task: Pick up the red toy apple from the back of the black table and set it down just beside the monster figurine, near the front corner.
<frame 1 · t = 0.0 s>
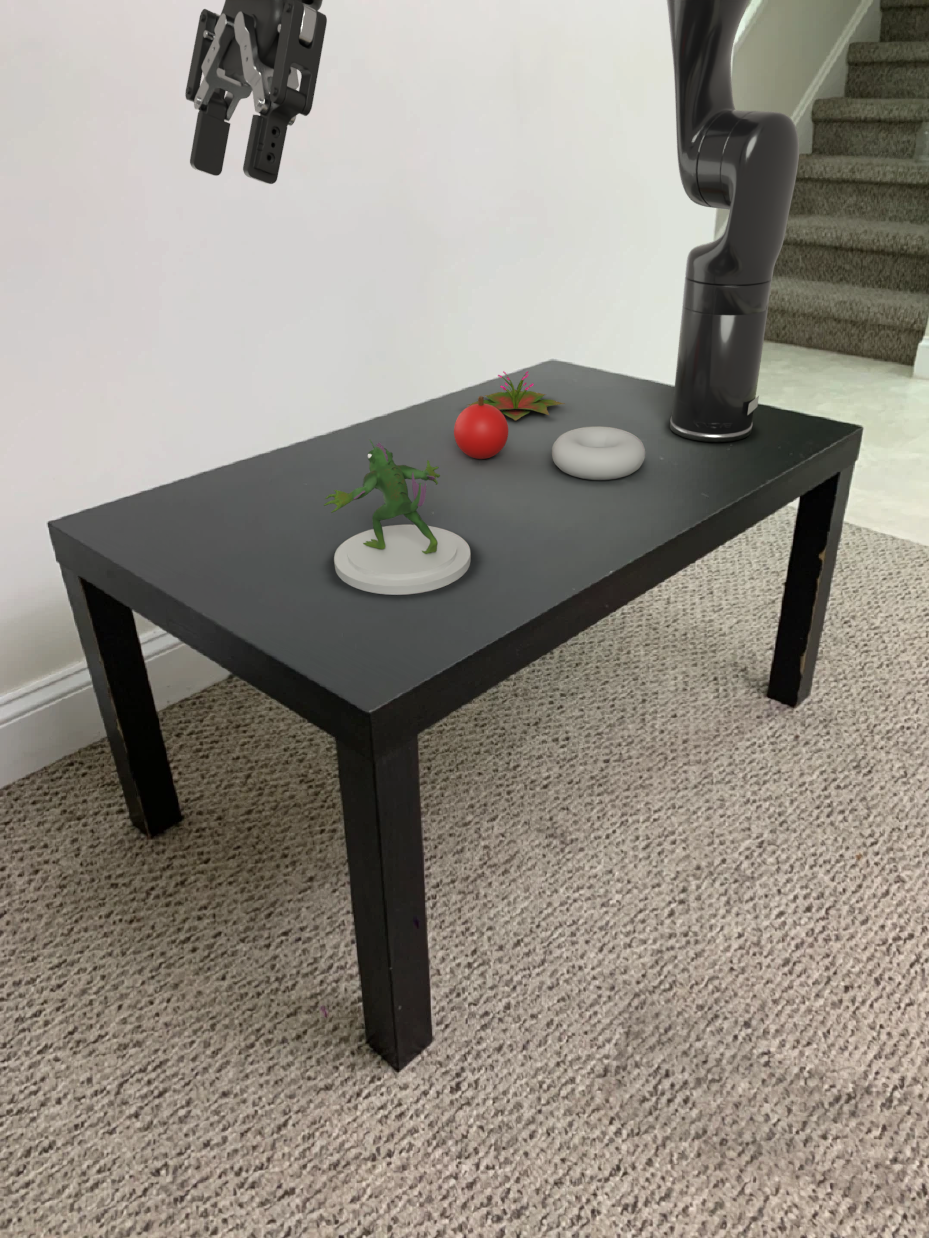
hand: (230, 176, 66), 31 cm above the table, tool tilted 20°, fingers open, 8 cm apart
lily flower: (515, 411, 119), on the table
monster figurine: (403, 563, 83), on the table
apple: (481, 457, 105), on the table
donut: (597, 469, 102), on the table
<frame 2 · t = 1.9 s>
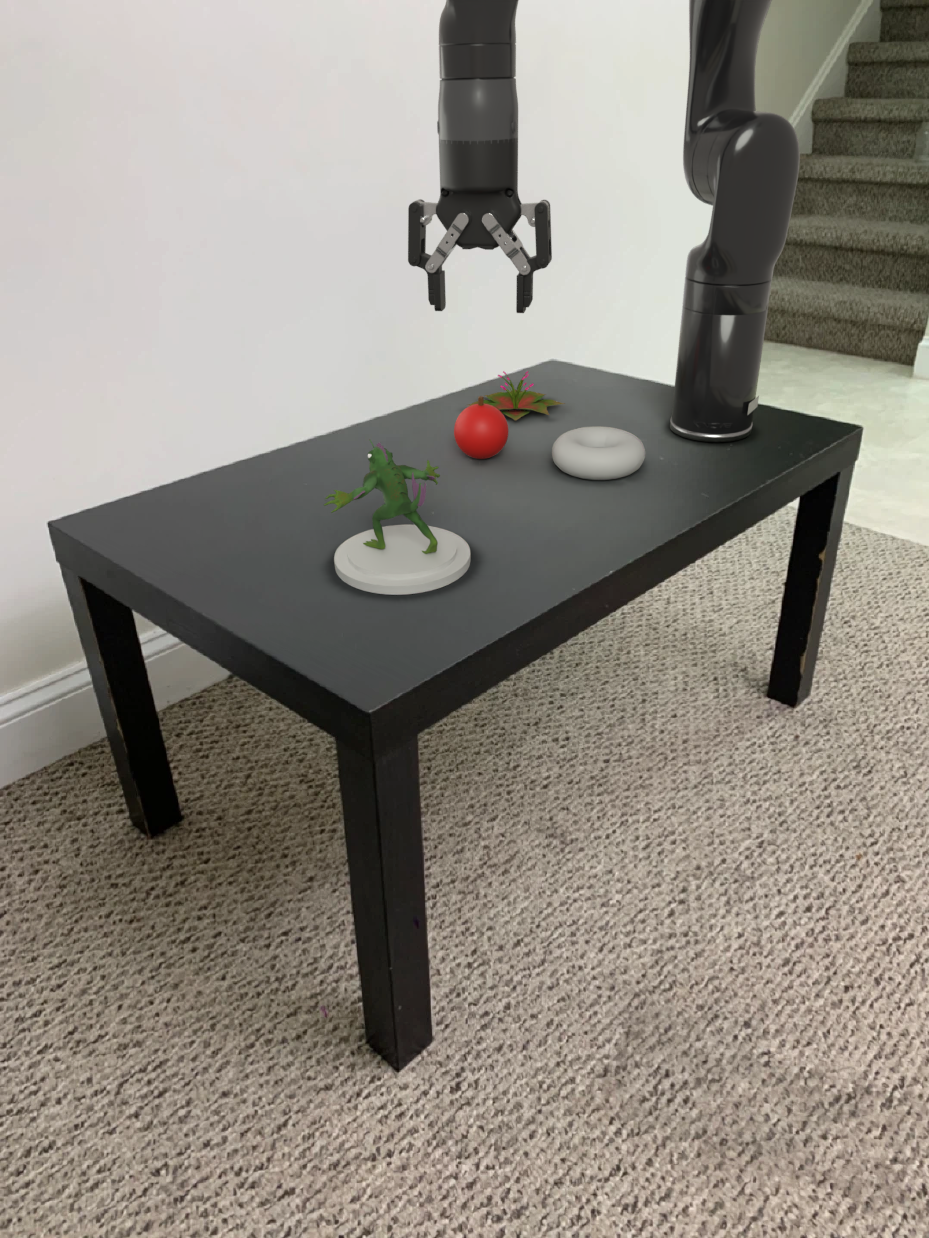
hand: (480, 310, 97), 16 cm above the table, tool pointing down, fingers open, 8 cm apart
nothing on the table moved.
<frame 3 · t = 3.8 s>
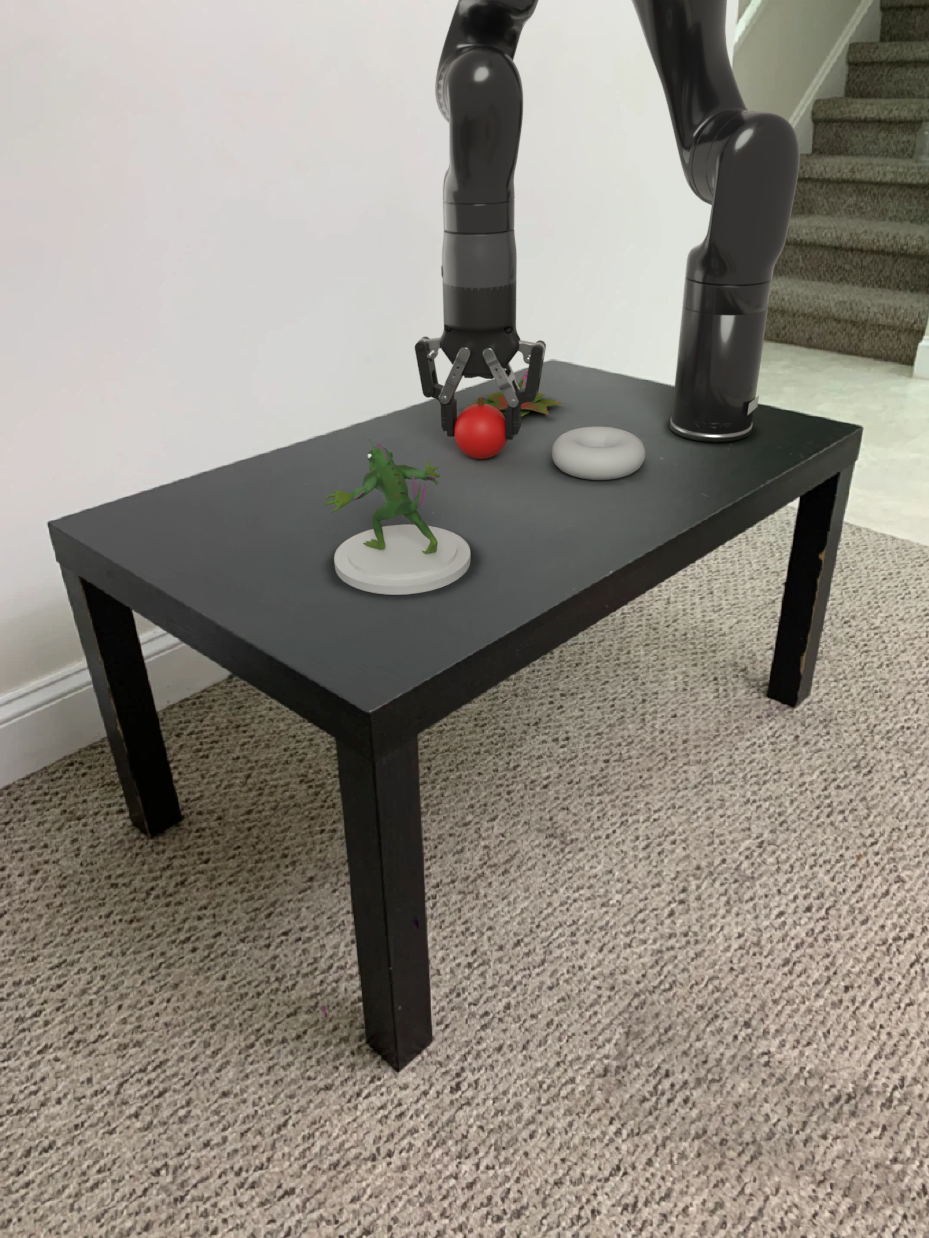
hand: (480, 435, 104), 3 cm above the table, tool pointing down, fingers closed on apple, 6 cm apart
apple: (481, 457, 105), on the table, touching gripper
everything else where it was.
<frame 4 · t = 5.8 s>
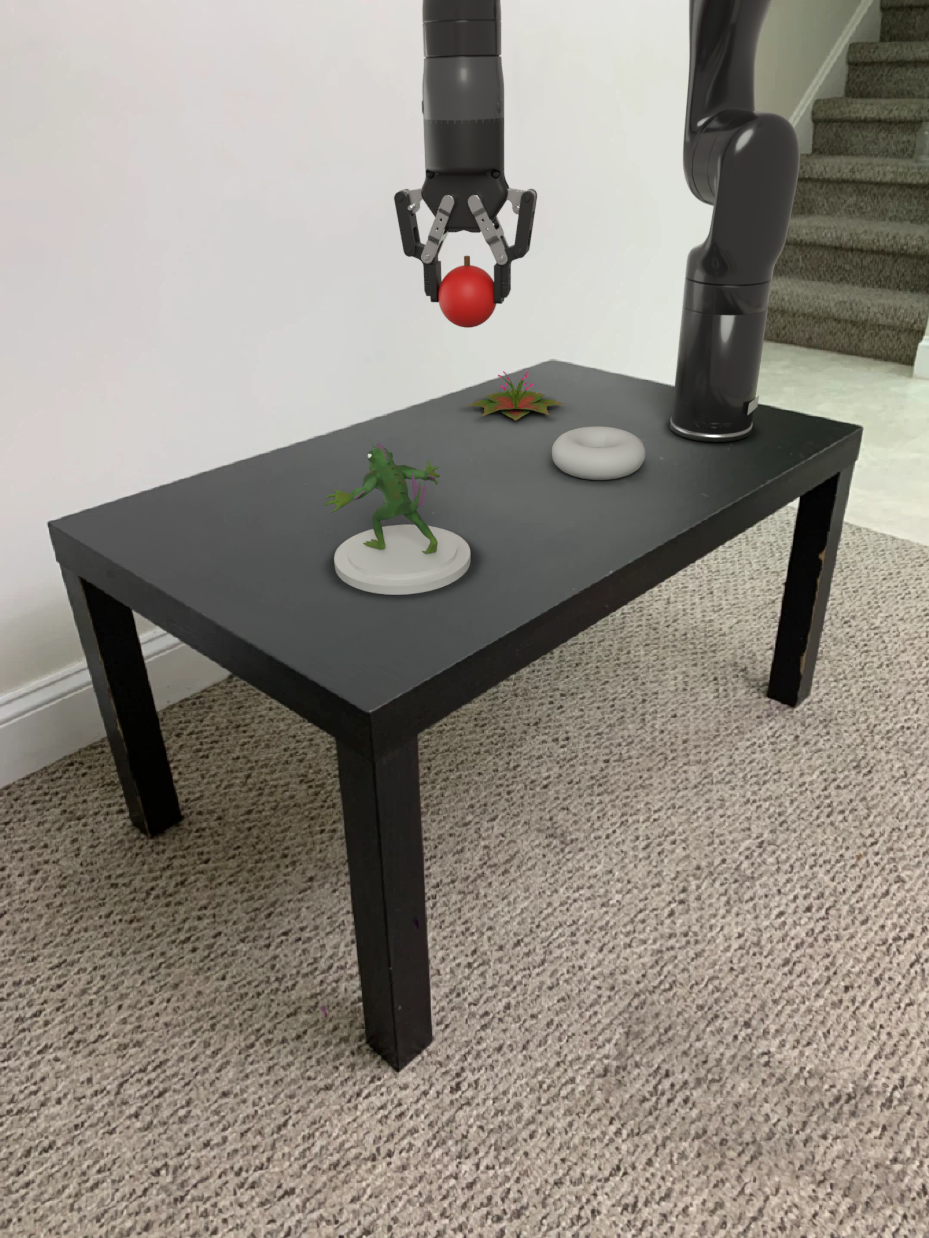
hand: (467, 301, 95), 17 cm above the table, tool pointing down, fingers closed on apple, 6 cm apart
apple: (468, 326, 97), point 15 cm above the table, touching gripper
everything else where it was.
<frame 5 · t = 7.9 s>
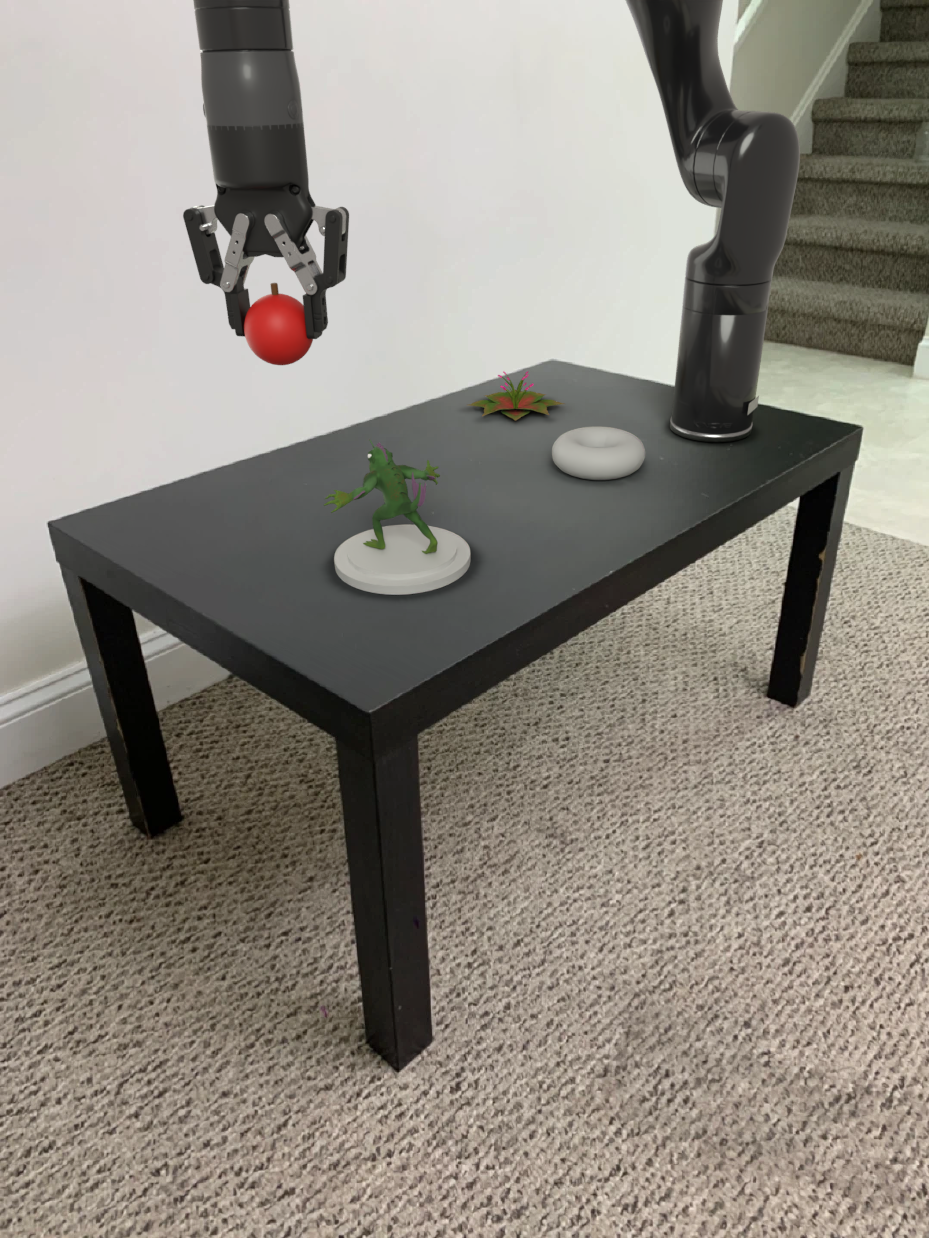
hand: (279, 335, 82), 18 cm above the table, tool pointing down, fingers closed on apple, 6 cm apart
apple: (283, 364, 84), point 15 cm above the table, touching gripper
everything else where it was.
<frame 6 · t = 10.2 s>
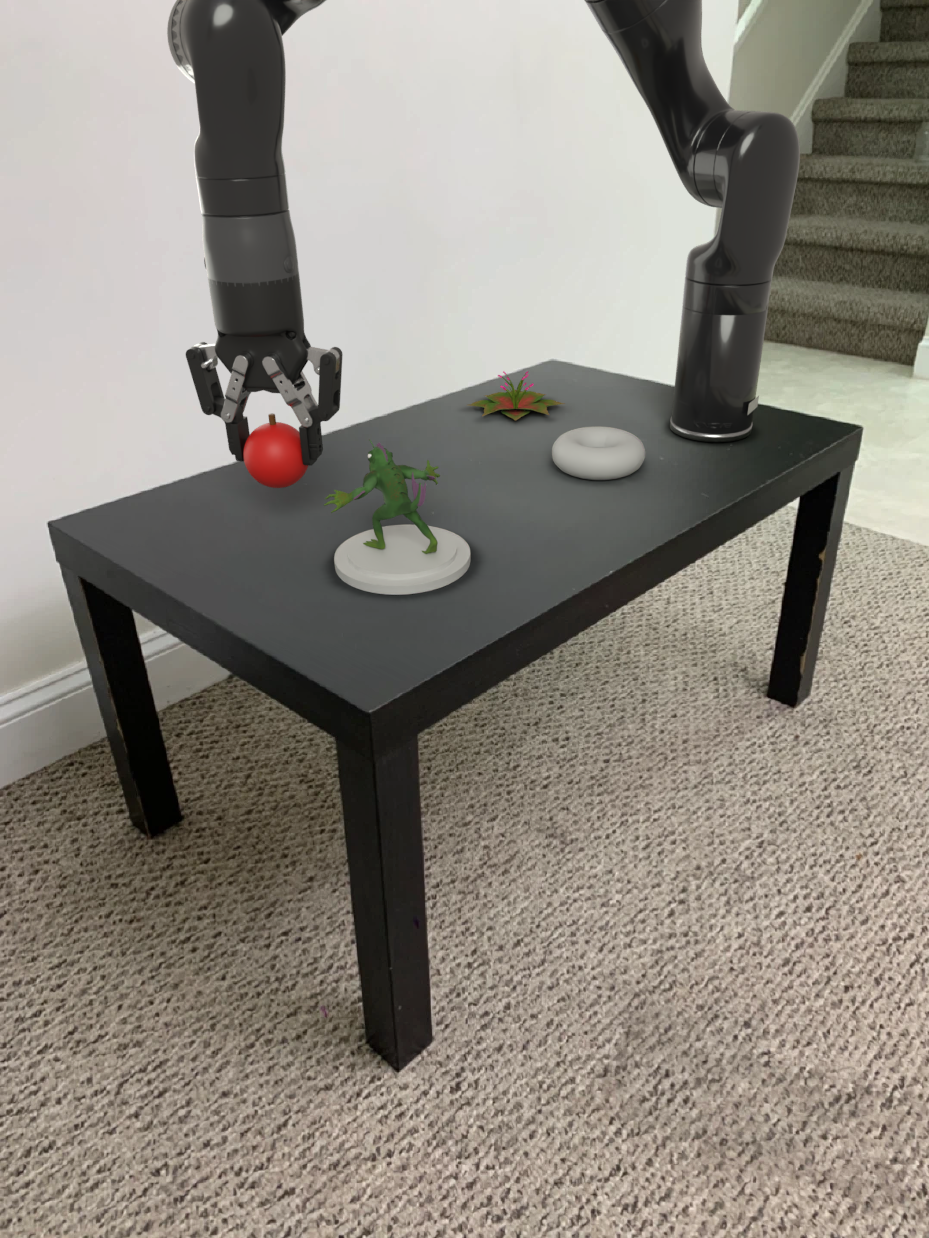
hand: (277, 460, 87), 7 cm above the table, tool pointing down, fingers closed on apple, 6 cm apart
apple: (280, 485, 88), point 4 cm above the table, touching gripper
everything else where it was.
when the fingers open (3 cm above the table, at t = 11.8 s): apple stays where it is, on the table.
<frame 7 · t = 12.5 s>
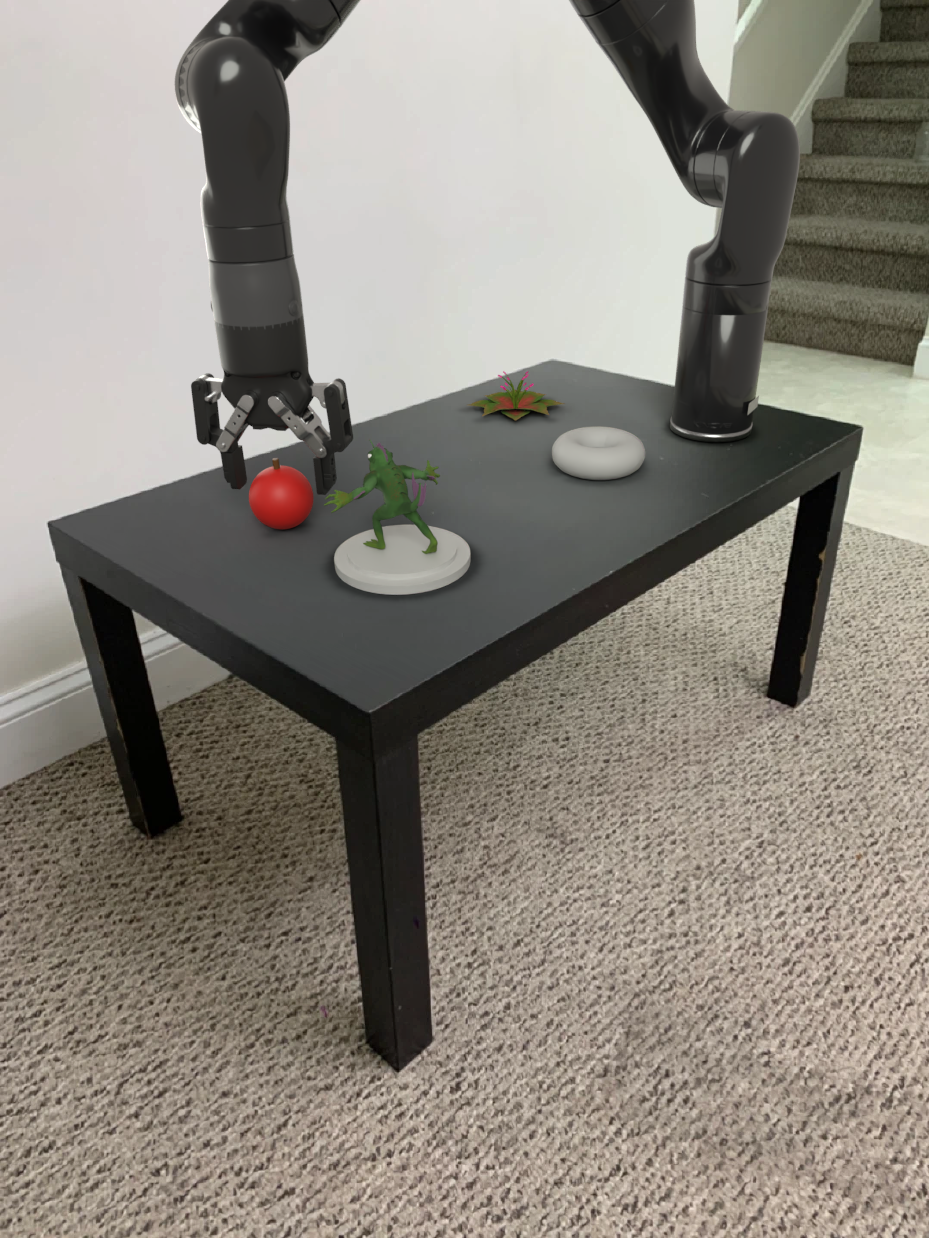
hand: (281, 489, 88), 4 cm above the table, tool pointing down, fingers open, 8 cm apart
apple: (285, 526, 90), on the table
everything else where it was.
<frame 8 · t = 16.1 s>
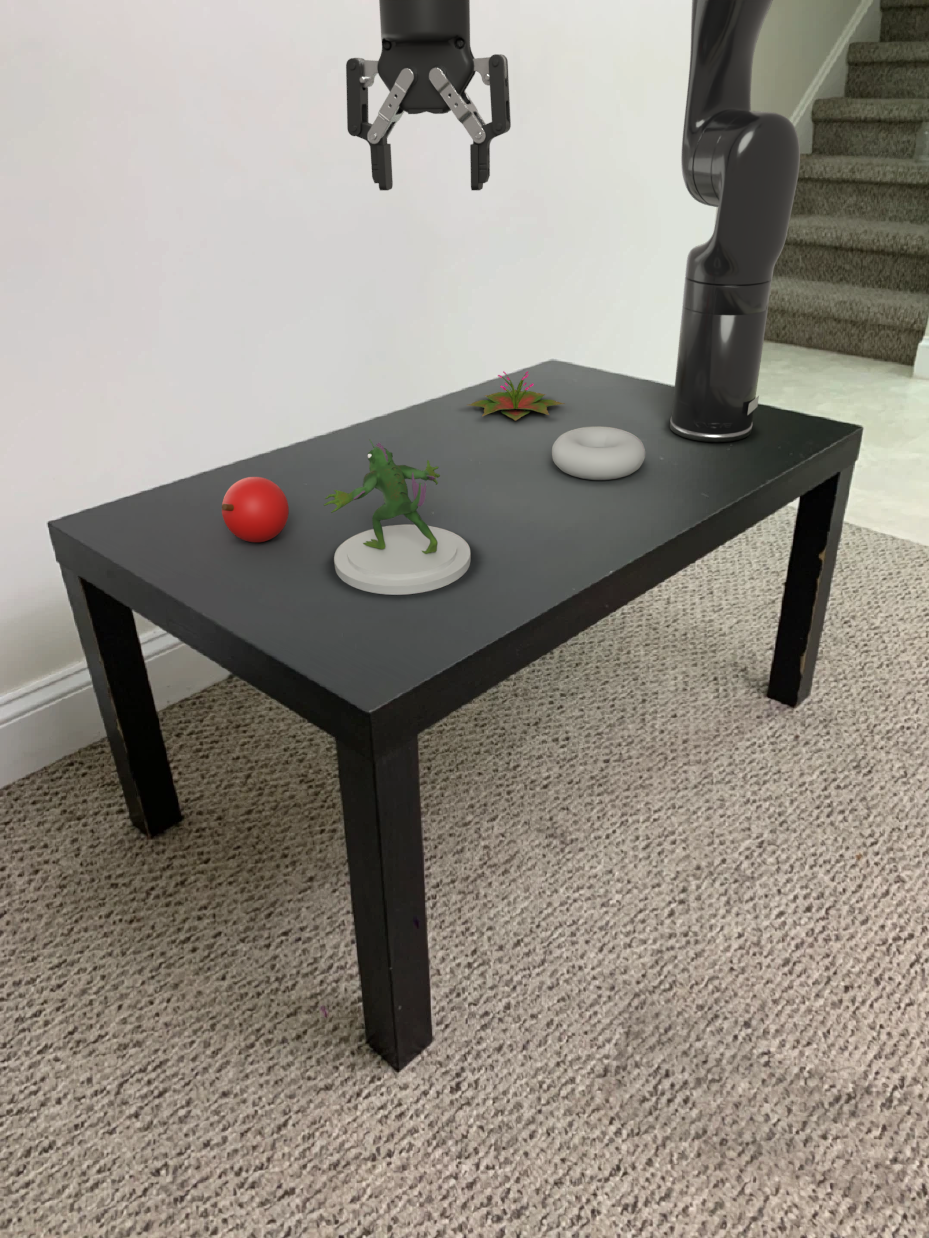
hand: (430, 189, 85), 28 cm above the table, tool pointing down, fingers open, 8 cm apart
apple: (278, 511, 89), point 2 cm above the table, tilted 66°
everything else where it was.
at the end: apple inside the target area on the table beside the monster figurine (0.7 cm from its centre), point 2.2 cm above the table; apple 14.2 cm from the monster figurine (horizontally); the gripper is holding nothing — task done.
